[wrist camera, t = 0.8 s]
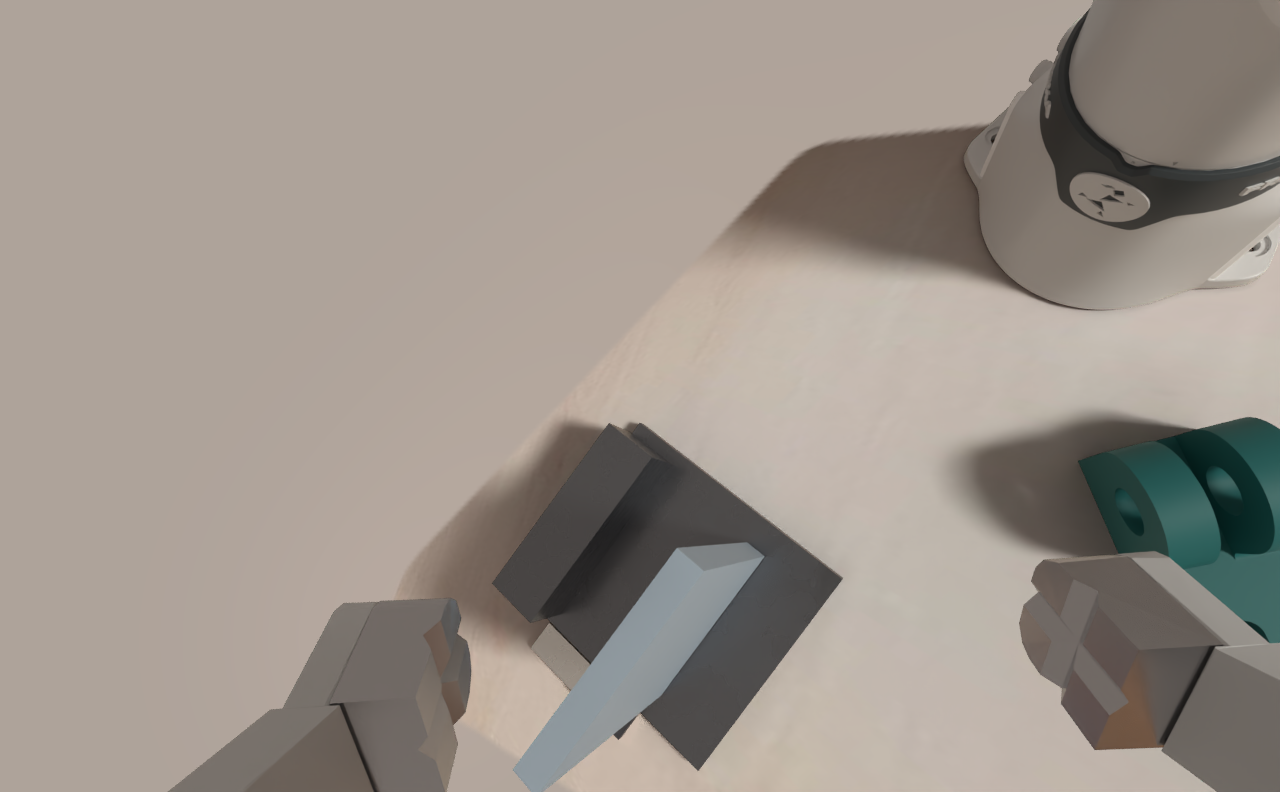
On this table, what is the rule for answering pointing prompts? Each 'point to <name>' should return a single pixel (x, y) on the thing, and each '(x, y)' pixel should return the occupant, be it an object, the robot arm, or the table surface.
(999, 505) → the table surface
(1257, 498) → the bracket
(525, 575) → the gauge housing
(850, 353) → the table surface
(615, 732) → the grey upright panel
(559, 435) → the table surface
